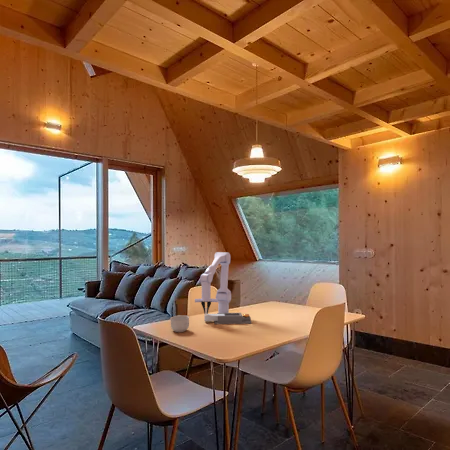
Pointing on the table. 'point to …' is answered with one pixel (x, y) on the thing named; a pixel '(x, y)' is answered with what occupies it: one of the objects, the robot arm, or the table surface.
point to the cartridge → (211, 316)
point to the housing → (233, 319)
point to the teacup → (179, 323)
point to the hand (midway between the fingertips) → (206, 313)
